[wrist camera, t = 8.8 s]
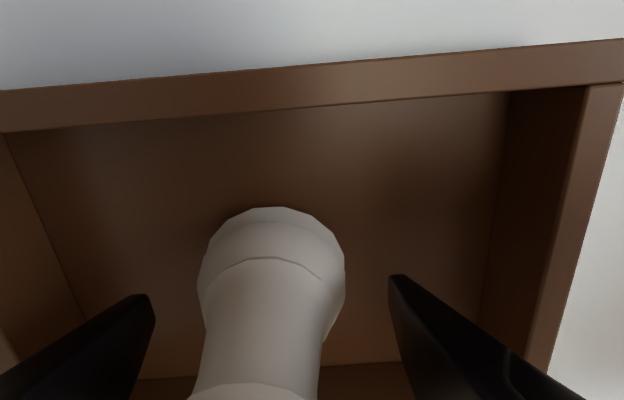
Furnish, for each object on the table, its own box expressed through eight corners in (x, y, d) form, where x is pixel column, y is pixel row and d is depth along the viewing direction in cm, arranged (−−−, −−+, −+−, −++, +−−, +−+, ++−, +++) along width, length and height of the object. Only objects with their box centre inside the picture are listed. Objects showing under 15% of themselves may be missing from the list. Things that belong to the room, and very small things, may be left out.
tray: (482, 356, 13) (530, 435, 10) (108, 383, 14) (54, 468, 11) (534, 46, 9) (642, 36, 6) (-23, 93, 9) (-173, 104, 6)
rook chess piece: (300, 332, 12) (292, 773, 4) (186, 282, 11) (-63, 732, 4) (370, 240, 10) (526, 661, 3) (246, 173, 10) (37, 543, 2)
